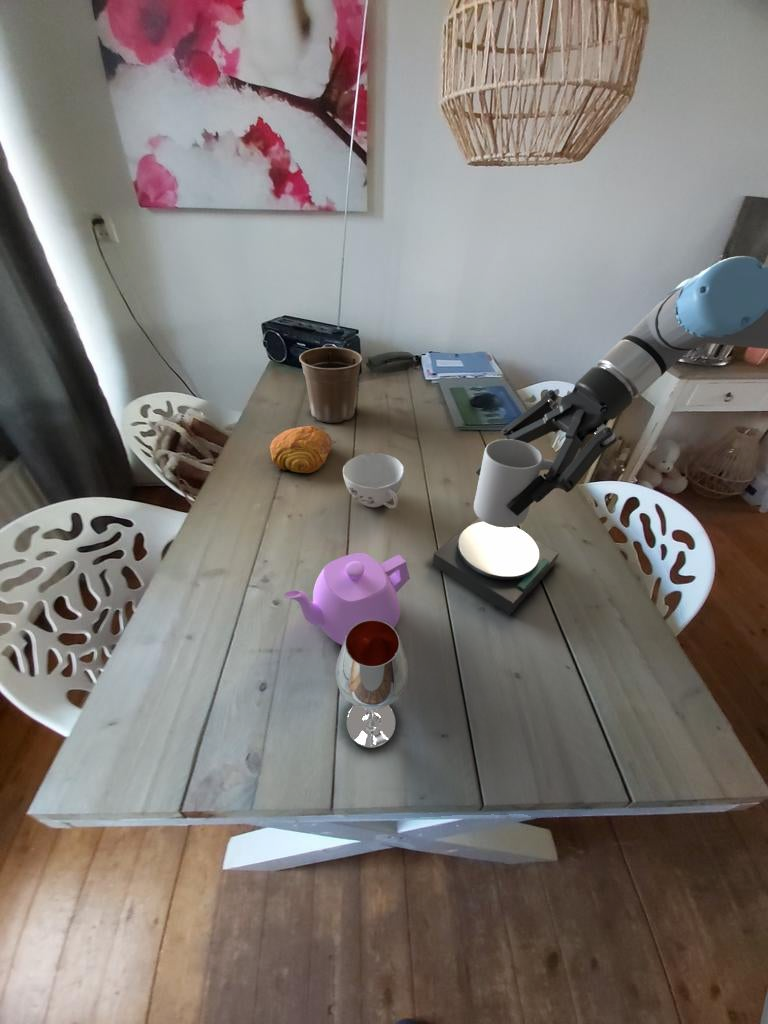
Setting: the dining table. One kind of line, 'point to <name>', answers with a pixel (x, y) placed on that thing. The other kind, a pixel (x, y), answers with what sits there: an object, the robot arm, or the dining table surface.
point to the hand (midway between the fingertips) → (495, 493)
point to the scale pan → (498, 551)
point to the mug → (506, 480)
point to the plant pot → (331, 382)
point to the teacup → (374, 479)
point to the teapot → (354, 594)
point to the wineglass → (371, 680)
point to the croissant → (301, 449)
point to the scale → (492, 589)
